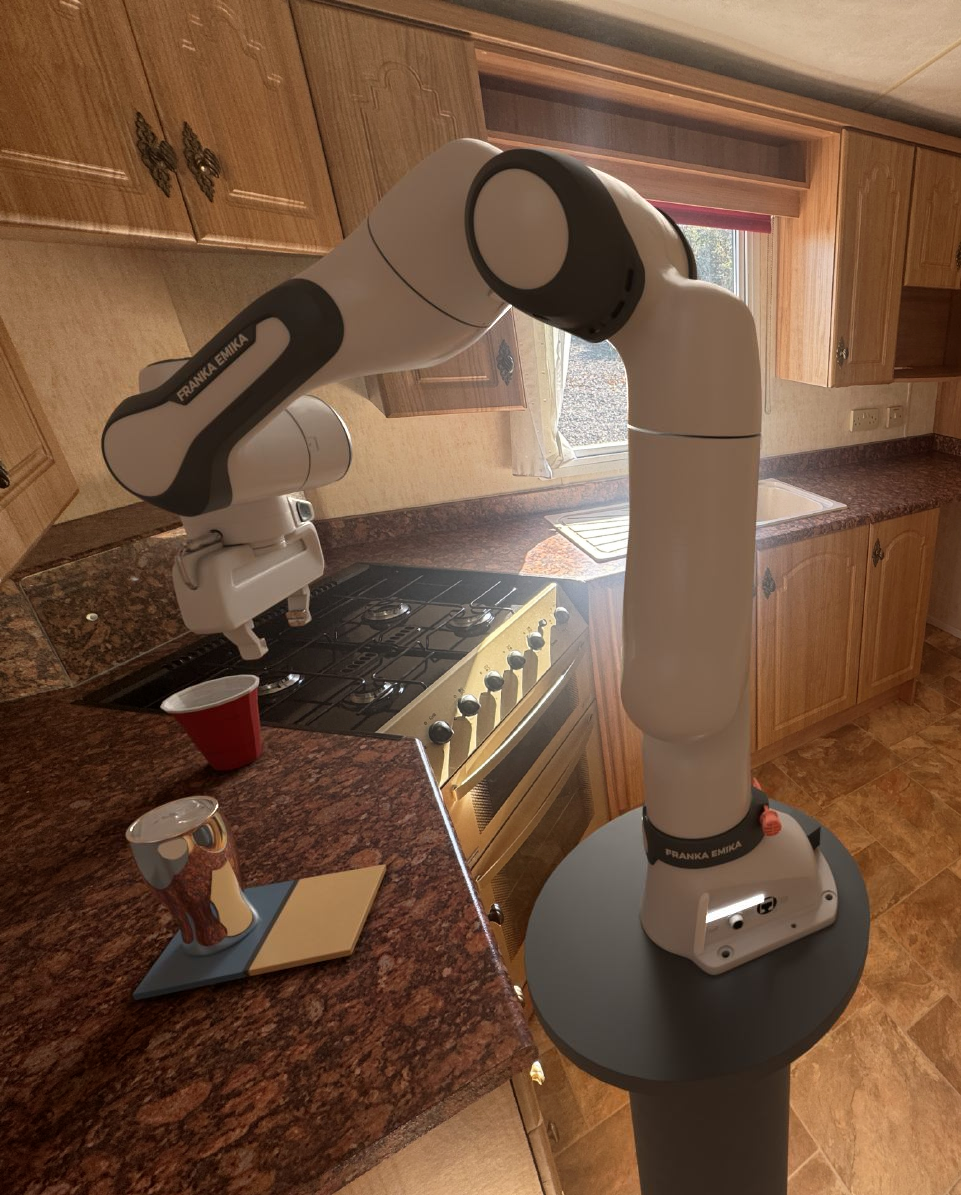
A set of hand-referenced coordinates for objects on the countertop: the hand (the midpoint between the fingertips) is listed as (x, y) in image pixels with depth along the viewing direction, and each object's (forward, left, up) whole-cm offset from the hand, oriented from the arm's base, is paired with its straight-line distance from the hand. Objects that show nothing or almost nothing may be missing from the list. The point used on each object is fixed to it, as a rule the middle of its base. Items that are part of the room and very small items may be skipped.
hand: (280, 639), depth 71 cm
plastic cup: (+20, -21, -27) cm, 40 cm away
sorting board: (+1, +15, -27) cm, 31 cm away
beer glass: (+6, +15, -27) cm, 31 cm away
